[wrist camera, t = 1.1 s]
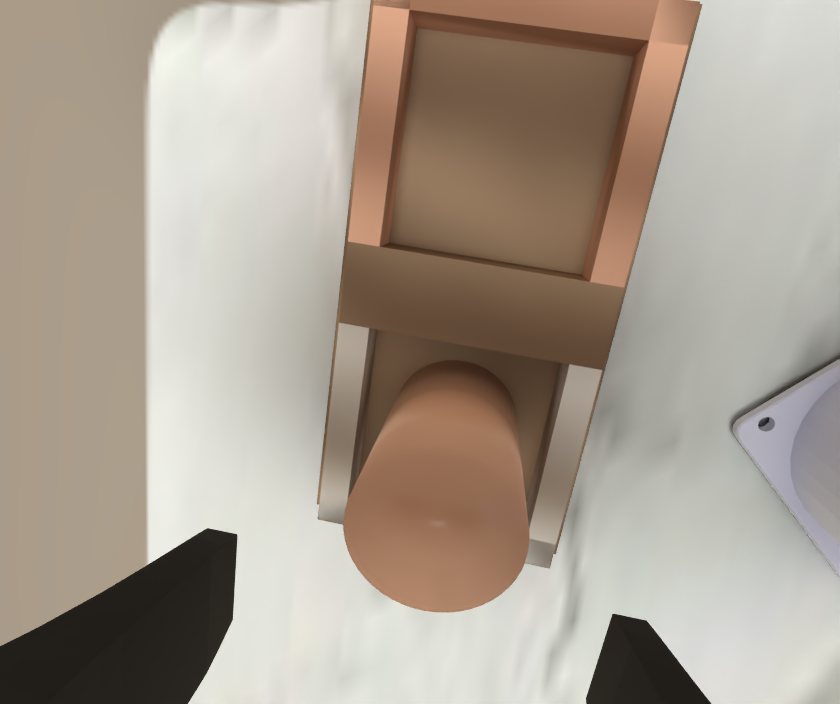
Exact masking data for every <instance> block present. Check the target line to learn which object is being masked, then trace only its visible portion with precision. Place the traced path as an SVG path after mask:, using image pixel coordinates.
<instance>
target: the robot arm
mask: <svg viewBox="0 0 840 704" xmlns="http://www.w3.org/2000/svg"><path fill="white" fill-rule="evenodd" d="M765 417H769V422H768V423H767V424H766V425H765V426H762V427H758V423H759V421H760V420H761V419H762V418H765ZM733 433H734V436H735V437H736V438H737V440H738V441H739V442H740V444H741V445H742V447H743V448H744V449H745V451H746V452H747V453H748V455H749V456H750V457H751V459H752V460H753V461H754V463H755V464H756V466H757V467H758V468H759V470H760V471H761V472H762V474H763V475H764V476H765V478H766V479H767V480H768V482H769V483H770V484H771V486H772V487H773V489H774V490H775V491H776V493H777V494H778V495H779V497H780V498H781V499H782V501H783V502H784V503H785V505H786V506H787V507H788V509H789V510H790V512H791V513H792V514H793V516H794V517H795V518H796V520H797V521H798V522H799V524H800V525H801V526H802V528H803V529H804V530H805V532H806V533H807V535H808V536H809V537H810V539H811V540H812V541H813V543H814V544H815V545H816V547H817V548H818V549H819V551H820V552H821V554H822V555H823V556H824V558H825V559H826V560H827V562H828V563H829V564H830V566H831V567H832V568H833V570H834V571H835V572H836V574H837V575H838V577H839V578H840V359H838V360H836V361H835V362H833V363H831V364H830V365H828V366H826V367H825V368H823V369H821V370H819V371H818V372H816V373H814V374H813V375H811V376H809V377H808V378H806V379H804V380H803V381H801V382H799V383H797V384H796V385H794V386H792V387H791V388H789V389H787V390H786V391H784V392H782V393H781V394H779V395H777V396H775V397H774V398H772V399H770V400H769V401H767V402H765V403H764V404H762V405H760V406H759V407H757V408H755V409H753V410H752V411H750V412H748V413H747V414H745V415H743V416H742V417H740V418H739V419H738V420H736V421H735V423H734V425H733ZM236 551H237V534H233V533H228V532H223V531H218V530H214V529H209V528H207V529H206V530H204V531H202V532H200V533H199V534H197V535H195V536H194V537H192V538H190V539H189V540H187V541H186V542H184V543H182V544H181V545H179V546H178V547H176V548H174V549H173V550H171V551H170V552H168V553H166V554H165V555H163V556H161V557H160V558H158V559H157V560H155V561H153V562H152V563H150V564H148V565H147V566H145V567H144V568H142V569H140V570H139V571H137V572H135V573H134V574H132V575H130V576H129V577H127V578H125V579H124V580H122V581H120V582H119V583H117V584H115V585H114V586H112V587H110V588H109V589H107V590H105V591H104V592H102V593H100V594H98V595H96V596H95V597H93V598H91V599H89V600H87V601H85V602H83V603H82V604H80V605H78V606H77V607H74V608H73V609H71V610H69V611H67V612H65V613H64V614H62V615H60V616H58V617H56V618H55V619H53V620H51V621H49V622H47V623H45V624H44V625H42V626H40V627H38V628H36V629H34V630H32V631H30V632H28V633H26V634H24V635H22V636H20V637H18V638H16V639H14V640H12V641H10V642H8V643H6V644H4V645H2V646H0V704H188V702H189V701H190V699H191V698H192V696H193V694H194V693H195V691H196V690H197V688H198V686H199V685H200V683H201V682H202V680H203V678H204V677H205V675H206V673H207V671H208V669H209V667H210V665H211V663H212V661H213V659H214V657H215V655H216V653H217V651H218V649H219V647H220V645H221V643H222V641H223V639H224V637H225V635H226V633H227V630H228V628H229V626H230V624H231V622H232V620H233V605H234V587H235V569H236ZM586 703H587V704H711V703H710V702H709V700H708V699H707V698H706V696H705V695H704V694H703V693H702V691H701V690H700V689H699V688H698V686H697V685H696V684H695V682H694V681H693V680H692V678H691V677H690V676H689V675H688V673H687V672H686V671H685V669H684V668H683V667H682V666H681V664H680V663H679V662H678V660H677V659H676V658H675V656H674V655H673V654H672V653H671V651H670V650H669V649H668V647H667V646H666V645H665V643H664V642H663V641H662V640H661V638H660V637H659V636H658V634H657V633H656V632H655V631H654V629H653V628H652V627H651V626H650V624H649V623H648V622H647V621H645V620H641V619H636V618H631V617H626V616H622V615H617V614H612V618H611V621H610V624H609V627H608V630H607V634H606V637H605V640H604V643H603V646H602V649H601V653H600V656H599V659H598V662H597V665H596V669H595V672H594V675H593V678H592V681H591V684H590V688H589V691H588V694H587V697H586Z"/></svg>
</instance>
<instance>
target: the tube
mask: <svg viewBox="0 0 840 704" xmlns="http://www.w3.org/2000/svg"><path fill="white" fill-rule="evenodd" d="M343 521H344V536H345V542H346V545H347V548H348V551H349V553H350V556H351V558H352V560H353V562H354V563H355V565H356V567H357V568H358V570H359V571H360V572H361V574H362V575H363V576H364V577H365V578H366V579H367V580H368V581H369V582H370V583H371V584H372V585H373V586H374V587H375V588H376V589H378V590H379V591H380V592H381V593H383V594H384V595H386V596H388V597H389V598H391V599H393V600H395V601H397V602H399V603H401V604H403V605H406V606H409V607H412V608H415V609H420V610H424V611H431V612H457V611H463V610H468V609H472V608H475V607H478V606H481V605H483V604H485V603H487V602H489V601H491V600H493V599H494V598H496V597H497V596H499V595H500V594H502V593H503V592H504V591H505V590H506V589H507V588H509V586H510V585H511V584H512V583H513V582H514V581H515V580H516V578H517V576H518V575H519V573H520V572H521V570H522V568H523V566H524V563H525V561H526V558H527V554H528V550H529V540H530V538H529V524H528V515H527V506H526V497H525V489H524V480H523V471H522V462H521V454H520V445H519V436H518V427H517V419H516V411H515V406H514V402H513V399H512V397H511V395H510V393H509V391H508V389H507V388H506V387H505V385H504V384H503V383H502V382H501V380H500V379H499V378H498V377H496V376H495V375H494V374H493V373H492V372H490V371H489V370H487V369H485V368H483V367H481V366H479V365H477V364H474V363H471V362H466V361H461V360H445V361H440V362H436V363H433V364H430V365H427V366H425V367H423V368H421V369H420V370H418V371H417V372H415V373H414V374H413V375H412V376H411V377H410V378H409V379H408V380H407V381H406V382H405V384H404V385H403V387H402V388H401V390H400V392H399V394H398V396H397V399H396V401H395V403H394V405H393V407H392V409H391V411H390V413H389V415H388V417H387V419H386V421H385V423H384V425H383V428H382V430H381V432H380V434H379V436H378V438H377V440H376V442H375V444H374V446H373V448H372V450H371V452H370V455H369V457H368V459H367V461H366V463H365V465H364V467H363V469H362V471H361V473H360V475H359V477H358V479H357V481H356V484H355V486H354V488H353V490H352V492H351V494H350V496H349V498H348V501H347V504H346V508H345V513H344V520H343Z"/></svg>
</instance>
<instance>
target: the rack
mask: <svg viewBox="0 0 840 704" xmlns="http://www.w3.org/2000/svg"><path fill="white" fill-rule="evenodd" d="M701 7H702V4H700V2H697V1H689V0H371V3H370V13H369V22H368V31H367V41H366V50H365V59H364V69H363V78H362V88H361V97H360V106H359V116H358V125H357V134H356V144H355V153H354V162H353V172H352V181H351V190H350V200H349V209H348V218H347V228H346V237H345V246H344V256H343V265H342V275H341V284H340V293H339V303H338V312H337V321H336V331H335V340H334V349H333V359H332V368H331V377H330V387H329V396H328V405H327V415H326V424H325V434H324V443H323V452H322V462H321V471H320V480H319V490H318V499H317V504H319V511H318V519H319V520H324V521H329V522H333V523H338V524H343V525H344V521H343V520H344V513H345V508H346V504H347V501H348V498H349V496H350V494H351V492H352V490H353V488H354V486H355V484H356V481H357V479H358V477H359V475H360V473H361V471H362V469H363V467H364V465H365V463H366V461H367V459H368V457H369V455H370V452H371V450H372V448H373V446H374V444H375V442H376V440H377V438H378V436H379V434H380V432H381V430H382V428H383V425H384V423H385V421H386V419H387V417H388V415H389V413H390V411H391V409H392V407H393V405H394V403H395V401H396V399H397V396H398V394H399V392H400V390H401V388H402V387H403V385H404V384H405V382H406V381H407V380H408V379H409V378H410V377H411V376H412V375H413V374H414V373H415V372H417V371H418V370H420V369H421V368H423V367H425V366H427V365H430V364H433V363H436V362H440V361H445V360H461V361H466V362H471V363H474V364H477V365H479V366H481V367H483V368H485V369H487V370H489V371H490V372H492V373H493V374H494V375H495V376H496V377H498V378H499V379H500V380H501V382H502V383H503V384H504V385H505V387H506V388H507V389H508V391H509V393H510V395H511V397H512V399H513V402H514V406H515V411H516V419H517V427H518V436H519V445H520V454H521V462H522V471H523V480H524V489H525V497H526V506H527V515H528V524H529V538H530V540H529V550H528V554H527V558H526V561H525V563H526V564H531V565H536V566H540V567H545V568H550V565H551V561H552V558H553V554H556V551H557V547H558V543H559V539H560V536H561V532H562V528H563V524H564V521H565V517H566V513H567V509H568V506H569V502H570V498H571V494H572V491H573V487H574V483H575V479H576V476H577V472H578V468H579V464H580V461H581V457H582V453H583V449H584V446H585V442H586V438H587V434H588V431H589V427H590V423H591V419H592V416H593V412H594V408H595V404H596V401H597V397H598V393H599V389H600V386H601V382H602V378H603V375H604V371H605V367H606V363H607V360H608V356H609V352H610V348H611V345H612V341H613V337H614V333H615V330H616V326H617V322H618V318H619V315H620V311H621V307H622V303H623V300H624V296H625V292H626V288H627V285H628V281H629V277H630V273H631V270H632V266H633V262H634V258H635V255H636V251H637V247H638V243H639V240H640V236H641V232H642V228H643V225H644V221H645V217H646V213H647V210H648V206H649V202H650V198H651V195H652V191H653V187H654V183H655V180H656V176H657V172H658V168H659V165H660V161H661V157H662V153H663V150H664V146H665V142H666V138H667V135H668V131H669V127H670V123H671V120H672V116H673V112H674V109H675V105H676V101H677V97H678V94H679V90H680V86H681V82H682V79H683V75H684V71H685V67H686V64H687V60H688V56H689V52H690V49H691V45H692V41H693V37H694V34H695V30H696V26H697V22H698V19H699V15H700V11H701Z"/></svg>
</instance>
